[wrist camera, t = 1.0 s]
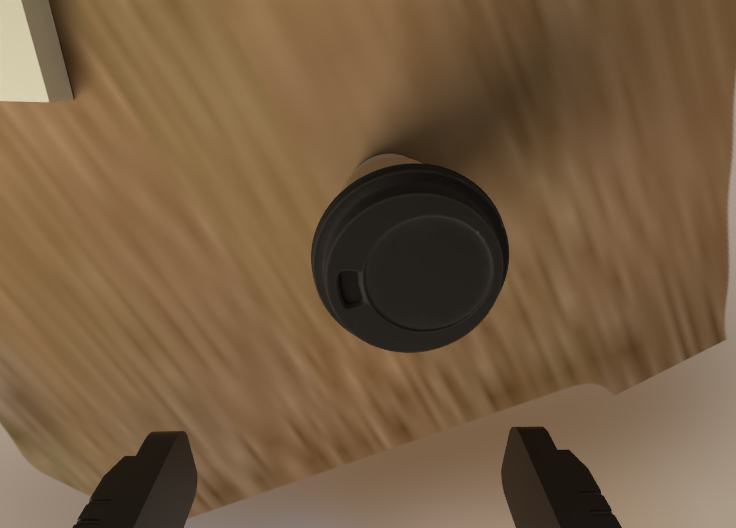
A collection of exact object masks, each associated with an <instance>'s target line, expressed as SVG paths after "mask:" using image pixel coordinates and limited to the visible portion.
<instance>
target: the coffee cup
mask: <svg viewBox="0 0 736 528" xmlns="http://www.w3.org/2000/svg"><path fill="white" fill-rule="evenodd" d="M508 263H509V245H508V238H507V234H506V230H505V228H504V225H503V222H502V219H501V217H500V214H499V212H498V210H497V208H496V207H495V205H494V204H493V202H492V201H491V199H490V198H489V197H488V196H487V194H486V193H485V192H484V191H483V190H482V189H481V188H480V187H479V186H477V185H476V184H475V183H474V182H472V181H471V180H469V179H468V178H466V177H465V176H463V175H461V174H459V173H457V172H455V171H452V170H450V169H447V168H443V167H440V166H435V165H430V164H423V163H421V162H419V161H417V160H414V159H410V158H407V157H405V156H403V155H399V154H389V153H388V154H381V155H377V156H374V157H371V158H369V159H367V160H366V161H364V162H363V163H362V164H360V165H359V167H358V168H357V169H356V170H355V172H354V173H353V174H352V176H351V177H350V178H349V179H348V180H347V182H346V184H345V185H344V187H343V189H342V191H341V193H340V194H339V195H338V196H337V197H336V198H335V199H334V200H333V201H332V202H331V204H330V205H329V206H328V208H327V209H326V211H325V212H324V214H323V216H322V218H321V219H320V222H319V224H318V226H317V229H316V232H315V235H314V239H313V243H312V251H311V264H312V272H313V277H314V281H315V285H316V289H317V292H318V294H319V297H320V299H321V301H322V303H323V305H324V306H325V308H326V309H327V311H328V312H329V313H330V315H331V316H332V317H333V318H334V319H335V320H336V321H337V322H338V323H339V324H340V325H341V326H342V327H343V328H345V329H346V330H347V331H349V332H350V333H352V334H353V335H355V336H357V337H358V338H359V339H361V340H363V341H364V342H366V343H368V344H370V345H373V346H375V347H378V348H381V349H384V350H389V351H394V352H403V353H414V352H424V351H429V350H434V349H437V348H441V347H443V346H446V345H449V344H451V343H453V342H455V341H457V340H459V339H460V338H462V337H463V336H465V335H467V334H468V333H469V332H470V331H472V330H473V329H474V328H475V327H476V326H477V325H478V324H479V323H480V322H481V321H482V320H483V319H484V318H485V317H486V315H487V314H488V313H489V311H490V310H491V308H492V306H493V305H494V303H495V301H496V299H497V297H498V295H499V293H500V291H501V289H502V286H503V284H504V281H505V278H506V274H507V270H508Z"/></svg>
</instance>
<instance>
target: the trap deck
mask: <svg viewBox="0 0 736 528" xmlns="http://www.w3.org/2000/svg"><path fill="white" fill-rule="evenodd" d="M66 100H74V98H73V95H72V91H71V87H70V83H69V79H68V75H67V71H66V67H65V63H64V59H63V55H62V51H61V47H60V43H59V39H58V35H57V32H56V28H55V24H54V20H53V16H52V12H51V8H50V4H49V0H0V101H25V102H56V101H66Z"/></svg>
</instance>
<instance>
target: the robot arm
mask: <svg viewBox="0 0 736 528" xmlns="http://www.w3.org/2000/svg"><path fill="white" fill-rule="evenodd" d="M501 476H502V484H503V490H504V494H505V497H506V500H507V503H508V506H509V509H510V512H511V514H512V518H513V520H514V523H515V526H516V528H622V527H621V526H620V524H619V522H618V520H617V519H616V517H615V515H613V514H612V512H611V508H610V506H609V505H608V503H607V501H606V499H605V497H604V496H602V495H601V491H600V489H599V487H598V485H597V484H596V482H595V480H594V478H593V476H592V475H591V473H590V471H589V469H588V468H587V467H586V466H585V465H584V464H583V463H582V462H581V461H580V460H579V459H578V458H577V457H576V456H575V455H574V454H573V453H571V451H570V450H557V448H556V447H555V445H554V443H553V441H552V439H551V437H550V435H549V433H548V431H547V430H546V429H545V428H544V427H512V428H511V429H510V433H509V436H508V441H507V446H506V450H505V455H504V459H503V464H502V470H501ZM196 488H197V470H196V466H195V463H194V459H193V455H192V451H191V448H190V444H189V440H188V436H187V434H186V432H184V431H167V432H151V433H150V434H149V435H148V436H147V437H146V439H145V440H144V442H143V444H142V446H141V448H140V449H139V451H138V453H137V455H136V456H124V457H123V458H122V459H121V460H120V461H119V462H118V463H117V464H116V465H115V466H114V467H113V468H112V469H111V470H110V471H109V472H108V473H107V474H106V475H104V477H103V478H102V480H101V482H100V483H99V485H98V486H97V488H96V490H95V491H94V493H93V495H92V496H91V498H90V502H89V504H88V505H86V506H85V508H84V510H83V511H82V513H81V515H80V516H79V518H78V521H77V524H76V525H74V526H73V528H184V525H185V522H186V520H187V517H188V514H189V512H190V509H191V506H192V503H193V501H194V497H195V494H196Z"/></svg>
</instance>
